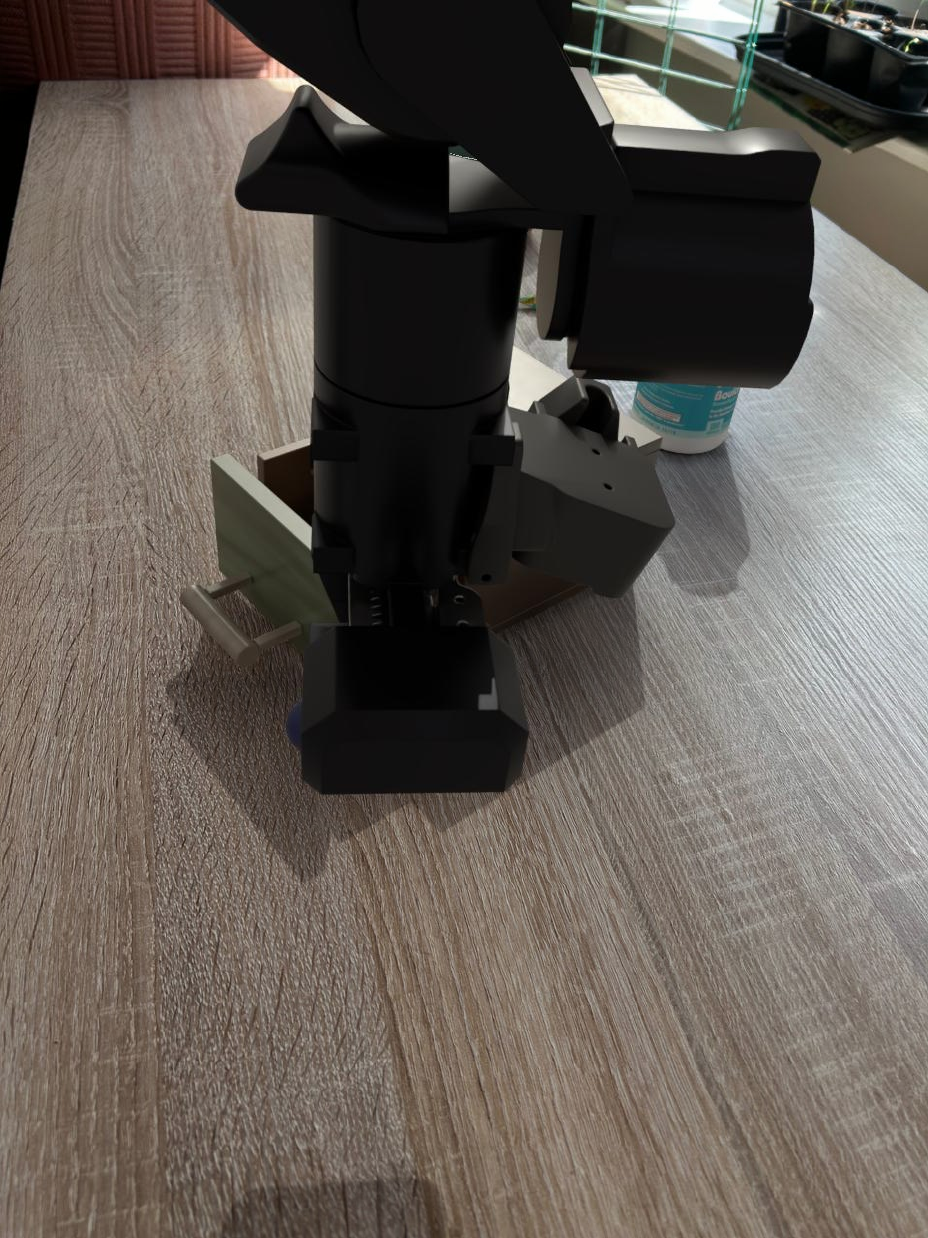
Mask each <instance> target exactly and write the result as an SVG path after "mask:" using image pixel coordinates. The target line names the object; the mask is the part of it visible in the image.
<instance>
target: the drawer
mask: <svg viewBox="0 0 928 1238" xmlns="http://www.w3.org/2000/svg"><path fill="white" fill-rule="evenodd" d="M209 467H210V478H211V490H212V492H211V493H212V502H213V503H212V504H213V513H214V514H213V515H214V526H215V527H214V528H215V538H216V540H215V541H216V549H217V563H218V571H219V572H220V573H221V574H222V575H223V576H224V577H225V578H226V579H224V580H221V581H219V582H216V583H214V584H210V585H209V586H206V587H202V585H200V584H195V583H194V584H190V585H188V586H186V587H185V588H184V589H183V590H182V591H181V593H180V595H179V601H180V604H181V605H182V606H183V607H184V608H185V609H186V610H187V611H188V612H189V614H190V615H191V616H192V617H193V618H194V619H195V620H196V621H197V622H198V623H199V625H200V626H201V627H202V628H203V629H204V630H205V631H206V632H207V633H208V634H209V635H210V636H211V637H212V639H213V640H214V641H215V642H216V643H217V644H218V645H219V646H220V647H221V649H223V651H224V652H225V653H226V655H228V656H229V657H230V658H231V660H233V662H234V663H235V664H236V665H237V666H238V667H241V668H248V667H250V666H253V664H255V663H256V662H257V660H258V659H259V657H260V655H261V653H262V652H264V651H267V650H268V649H269V650H270V649H271V648H273V647H275V646H278V645H280V644H282V643H284V642H287V641H288V642H289V643H290V644H291V646H292V647H294V648H295V650H297V651H298V653H300V654H301V656H303V649H304V648H305V647H307V646H308V643H309V623H311V622H325V623H339V621H338V619H337V617H336V614H335V612H334V609H333V607H332V605H331V602H330V600H329V598H328V596H327V594H326V591H325V589H324V586H323V584H322V582H321V579H320V577H319V574H315V573H313V560H312V557H311V536H312V516H313V514H314V475H311V471H310V436H309V437H306V438H302V439H299V440H296V441H293V442H291V443H288V444H285V445H281V446H278V447H276V448H272V449H270V450H266V451H264V452H261V453H258V454H257V455H256V467H257V468H256V470H257V477H256V476H255V475H254V474H253V473H252V472H250V471H249V469H247V468H246V467H245V466H244V465H243V464H241V463H240V462H239V461H238V459H236V458H235V457H234V456H233V455H232V454H230V453H227V452H226V453H223V454H221V455H218V456H215V457H212V458H210V459H209ZM236 591H239V592H240V593H241V594H242V595H243V596H244V597H245V598H246V599H247V600H248V601H249V602H250V603H251V605H253V607H255V608H256V610H258V611H259V613H261V615H263V617H264V618H265V619H266V620H267V621H268V622H269V623H270V624H271V625H272V626H273V627H274V629H273V630H270V631H268V632H265V633H263V634H261V635H259V636H257V637H255V638H253V639H252V638H251V637H250V636H249V635H248V634H247V633H246V632H245V630H243V629H242V628H241V626H240V625H238V623H237V622H236V621H234V619H233V618H232V617H231V616H230V615H229V614H228V613H227V612H226V611H225V610H224V609H223V608H222V606H221V605H219V603H218V602H217V601H216V600H217V599H219V598H222V597H224V596H226V595H229V594H231V593H234V592H236ZM435 598H436V596H435ZM435 598H434V600H433V606H435Z"/></svg>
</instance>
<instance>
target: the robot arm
mask: <svg viewBox="0 0 928 1238" xmlns="http://www.w3.org/2000/svg"><path fill="white" fill-rule="evenodd" d="M205 2H206V3H208V4H209V5H210V7H212V8H213V9H214V10H216V12H218V14H220V15H221V16H222V17H223V18H224V19H225V20H226V21H227V22H228V23H230V24H231V25H232V27H234V28H235V29H236V30H238V31H239V33H241V34H242V35H243V36H244V38H246V39H247V40H248V41H249V42H250V43H252V45H254V46H255V47H257V48H258V49H259V50H261V52H263V53H265V54H266V55H268V56H269V57H271V58H272V59H274V60H275V61H277V62H278V63H279V64H281V65H282V66H283V67H285V68H286V69H288V70H289V71H291V72H292V73H294V74H295V75H297V76H298V77H299V78H301V79H302V80H304V81H306V82H307V83H308V84H301V85H299V86H298V87H297V88H296V89H295V91H294V93H293V96H292V98H291V100H290V102H289V104H288V106H287V108H286V109H285V110H284V112H283V113H282V114H281V116H279V117H278V118H277V119H276V120H275V121H274V122H272V123H271V124H270V125H269V126H268V127H266V128H265V129H264V130H263V131H261V132H260V133H258V134H257V135H255V136H254V137H253V138H252V139H251V140H249V142H248V144H247V147H246V150H245V153H244V157H243V160H242V163H241V167H240V170H239V173H238V175H237V179H236V183H235V186H234V198H235V201H236V202H237V204H238V205H239V206H240V207H241V208H243V209H244V210H247V211H251V212H265V213H279V214H281V213H282V214H297V215H306V216H307V215H308V216H312V250H313V251H312V269H313V270H312V271H313V272H312V275H313V277H312V279H313V281H312V282H313V283H312V284H313V285H312V286H313V287H312V288H313V293H312V294H313V295H312V296H313V298H312V299H313V300H312V302H313V304H312V305H313V312H312V313H313V315H312V316H313V391H312V392H313V396H312V397H311V404H310V405H311V407H310V436H309V437H310V471H311V475H314V514H313V516H312V536H311V557H312V560H313V573H315V574H319V577H320V579H321V582H322V584H323V586H324V589H325V591H326V594H327V596H328V598H329V600H330V602H331V605H332V607H333V609H334V612H335V614H336V617H337V619H338V621H339V623H325V622H311V623H309V643H308V646H307V647H305V648H304V649H303V655H302V678H301V679H302V681H301V700H302V706H301V751H300V777H301V778H300V779H301V780H302V781H303V783H305V784H307V785H308V786H309V787H310V788H312V789H313V790H314V791H316V792H317V793H318V794H319V795H321V796H334V795H336V796H339V795H406V794H407V795H408V794H409V795H410V794H411V795H413V794H414V795H415V794H419V795H420V794H480V793H481V794H484V793H485V794H486V793H491V794H493V793H494V794H495V793H505V792H506V791H507V790H509V789H510V787H512V786H513V785H514V784H515V783H516V782H517V781H518V780H519V779H520V778H521V777H522V775H523V769H524V764H525V758H526V754H527V748H528V742H529V738H530V729H529V728H530V727H529V724H528V719H527V718H528V717H527V712H526V707H525V700H524V695H523V690H522V685H521V679H520V673H519V667H518V663H517V657H516V652H515V649H514V648H513V647H512V646H511V645H509V644H508V643H507V642H506V641H505V640H504V639H502V638H501V637H500V636H499V635H498V634H495V633H494V632H493V631H492V630H491V627H490V624H486V623H485V617H484V611H483V604H482V599H481V597H480V595H479V594H478V593H477V591H475V590H473V589H472V588H469V587H466V586H463V585H461V584H460V583H459V582H458V578H457V576H458V575H466V578H467V582H468V583H469V584H471V585H507V584H508V578H509V571H510V564H511V558H513V559H515V560H516V561H517V562H519V563H520V564H522V565H524V566H526V567H528V568H531V569H534V570H537V571H540V572H543V573H546V574H549V575H553V576H556V577H559V578H562V579H565V580H568V581H572V582H575V583H578V584H581V585H584V586H587V587H589V588H590V589H591V590H592V592H593V594H594V595H596V596H598V597H602V598H605V599H610V600H619V599H622V598H624V597H625V596H626V595H627V594H628V593H629V591H630V589H631V588H632V587H633V585H634V583H635V582H636V581H637V579H638V578H639V576H640V575H641V574H642V573H643V571H644V570H645V569H646V567H647V565H648V564H649V563H650V561H651V560H652V559H653V557H654V556H655V554H656V553H657V552H658V550H659V549H660V547H661V546H662V544H663V543H664V541H665V540H666V539H667V537H668V536H669V535H670V533H671V532H672V530H673V529H674V527H675V526H676V519H675V516H674V513H673V510H672V508H671V506H670V503H669V501H668V498H667V496H666V493H665V491H664V488H663V486H662V483H661V481H660V478H659V475H658V473H657V471H656V467H655V468H654V466H653V465H652V463H651V462H650V461H649V459H648V458H647V457H645V456H644V455H643V454H642V453H641V452H640V451H639V449H638V446H637V444H636V441H635V439H634V438H632V437H630V436H627V435H625V436H624V438H623V439H622V441H621V442H619V441H618V434H619V421H620V413H619V411H620V409H619V407H618V404H617V402H616V399H615V396H614V393H613V391H612V389H611V387H610V386H609V385H608V384H606V383H603V382H601V381H614V382H615V381H617V382H632V383H633V382H634V383H635V382H636V383H638V382H650V383H668V384H686V385H704V386H722V387H741V388H742V389H743V388H744V389H758V390H759V389H762V390H771V389H773V388H774V387H777V386H779V385H780V384H781V383H782V382H783V381H784V380H785V379H786V378H787V376H788V375H789V374H790V372H791V371H792V370H793V367H794V366H795V364H796V362H797V361H798V360H799V357H800V354H801V353H802V350H803V347H804V345H805V342H806V340H807V337H808V334H809V332H810V328H811V324H812V321H813V318H814V313H815V304H814V302H813V300H812V299H811V297H810V295H811V290H812V286H813V285H812V284H813V275H814V266H815V252H816V251H815V249H816V248H815V223H814V214H813V208H812V202H811V199H812V196H813V192H814V189H815V186H816V182H817V179H818V175H819V173H820V169H821V165H822V159H821V157H820V156H819V154H818V152H817V151H816V150H815V149H814V148H813V147H812V146H811V145H810V143H808V142H807V140H806V139H805V138H804V137H803V136H802V135H801V133H800V132H798V130H796V129H793V128H779V127H767V126H766V127H765V126H750V127H746V128H740V129H735V130H729V131H713V130H701V129H690V128H688V129H687V128H677V127H665V126H663V127H662V126H652V125H651V126H650V125H639V124H627V123H616V122H615V119H614V117H613V115H612V113H611V111H610V109H609V107H608V105H607V103H606V101H605V99H604V97H603V95H602V94H601V91H600V90H599V88H598V86H597V84H596V81H595V80H594V77H593V76H592V74H591V72H590V71H589V68H586V67H577V66H576V67H575V66H573V65H572V62H571V60H570V58H569V56H568V54H567V53H566V50H565V49H564V47H565V43H566V41H567V38H568V34H569V30H570V28H571V24H572V21H573V0H205ZM315 88H316V89H315ZM317 90H318V91H320V92H321V93H322V94H324V95H325V96H327V97H329V98H330V99H332V100H333V101H334V102H336V103H337V104H339V105H340V106H342V107H343V108H344V109H346V110H347V111H348V112H349V113H351V114H353V115H354V116H356V117H357V118H359V119H360V120H362V121H363V122H365V123H366V124H360V123H359V124H357V123H349V122H348V121H346V120H344V119H343V118H342V117H341V116H339V115H337V114H336V113H335V112H334V111H333V110H332V109H331V108H330V107H328V105H327V104H326V103H325V101H324V100H323V99H322V98H321V96H320V95H319V93H318V92H317ZM459 145H460V146H461V147H462V148H463V149H465V150H466V151H467V152H468V153H469V154H471V155H472V156H473V157H474V158H475V159H477V160H478V161H479V162H478V161H474V160H470V159H465V158H461V157H457V156H452V155H449V147H456V146H459ZM528 229H531V230H542V231H541V236H540V237H541V238H540V244H539V252H538V258H537V259H538V261H537V269H536V271H537V272H536V284H535V285H536V287H535V295H536V308H535V314H536V315H535V316H536V327H537V332H538V333H537V334H538V336H539V339H541V340H542V341H551V342H562V340H564V339H566V346H567V348H566V368H567V370H570V371H571V372H572V374H573V375H572V376H570V377H569V378H567V380H566V381H565V382H563V383H562V384H560V385H559V386H558V387H556V388H555V389H553V390H552V391H551V392H549V393H548V394H546V395H545V396H544V397H542V398H541V399H540V400H539V401H533V403H532V405H531V406H530V408H529V410H528V411H524V410H520V409H517V408H513V407H510V406H508V398H509V390H510V385H509V375H510V367H511V359H512V352H513V345H514V343H515V337H516V329H517V319H518V313H519V304H520V303H519V298H520V297H521V290H522V282H523V273H524V266H525V258H526V251H527V243H528V236H529V232H528ZM741 388H740V389H741ZM435 596H436V598H435ZM434 598H435V606H433V600H434Z"/></svg>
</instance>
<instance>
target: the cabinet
mask: <svg viewBox="0 0 928 1238" xmlns="http://www.w3.org/2000/svg"><path fill="white" fill-rule="evenodd" d="M567 379H568V378H567V377H566V376H564V375H562V374H560V373H559V372H557V371H556V370H554V369H552V368H551V367H549V366H548V365H546V364H544V363H543V362H541V361H540V360H538V359H536V358H535V357H533V356H531V355H530V354H528V353H527V352H525V351H524V350H522V349H520V348H519V347H517V346H515V345H514V344H513V352H512V359H511V367H510V375H509V385H510V390H509V398H508V406H510V407H513V408H517V409H520V410H524V411H528V410H529V408H530V406H531V405H532V403H533V401H539V400H540V399H541V398H542V397H544V396H545V395H546V394H548V393H549V392H551V391H552V390H553V389H555V388H556V387H558V386H559V385H560V384H562V383H563V382H565V381H566V380H567ZM619 413H620V421H619V434H618V441H619V442H621V441H622V439H623V438H624V436H625V435H627V436H630V437H632V438H634V439H635V441H636V444H637V446H638V449H639V451H640V452H641V453H642V454H643V455H644V456H645V457H647V458H648V459H649V461H650V462H651V463H652V465H653V466H654V468H655V469H656V467H657V462H658V458H659V453H660V450H661V448H660V447H661V443H662V439H663V437H661V436H660V435H658V434H657V433H655V432H653V431H652V430H650V429H648V428H647V427H645V426H644V425H642V424H640V423H639V422H637V421H635V420H634V419H632V418H631V416H629V415H627V414H626V413H624V412H622V411H621V410H619ZM457 578H458V582H459V583H460V584H461V585H463V586H466V587H469V588H472V589H473V590H475V591H477V593H478V594H479V595H480V597H481V599H482V604H483V611H484V617H485V623H486V624H490V627H491V630H492V631H493V632H494V633H495V634H496V635H499V634H500V633H502V632H505V631H506V630H509V629H510V628H512V627H514V626H516V625H518V624H520V623H522V622H524V621H525V620H528V619H529V618H532V617H534V616H536V615H537V614H540V613H542V612H544V611H545V610H547V609H550V608H552V607H554V606H556V605H558V604H560V603H561V602H563V601H565V600H567V599H569V598H571V597H574V596H575V595H577V594H580V593H581V592H583V591H586V590H587V589H589V588H590V587H587V586H584V585H581V584H578V583H575V582H572V581H568V580H565V579H562V578H559V577H556V576H553V575H549V574H546V573H543V572H540V571H537V570H534V569H531V568H528V567H526V566H524V565H522V564H520V563H519V562H517V561H516V560H515V559H513V558H511V564H510V571H509V578H508V584H507V585H471V584H469V583H468V582H467V578H466V575H458V576H457Z"/></svg>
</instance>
